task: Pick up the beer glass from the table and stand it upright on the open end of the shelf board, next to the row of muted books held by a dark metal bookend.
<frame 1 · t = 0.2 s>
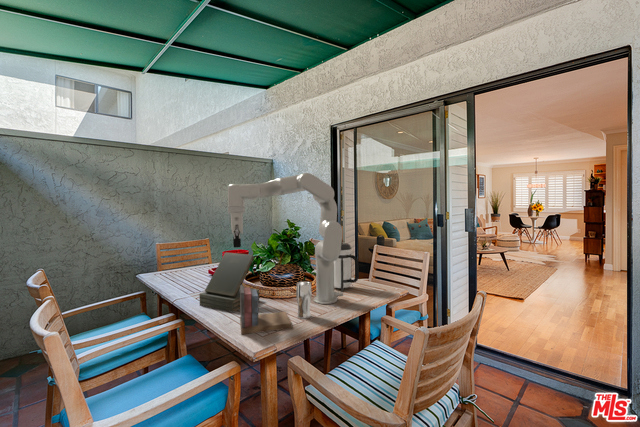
hand: (236, 245, 143), 31 cm above the table, tool pointing down, fingers open, 9 cm apart
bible: (230, 303, 154), on the table
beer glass: (304, 316, 135), on the table
shelf board: (265, 324, 126), on the table
coffee press: (343, 288, 179), on the table
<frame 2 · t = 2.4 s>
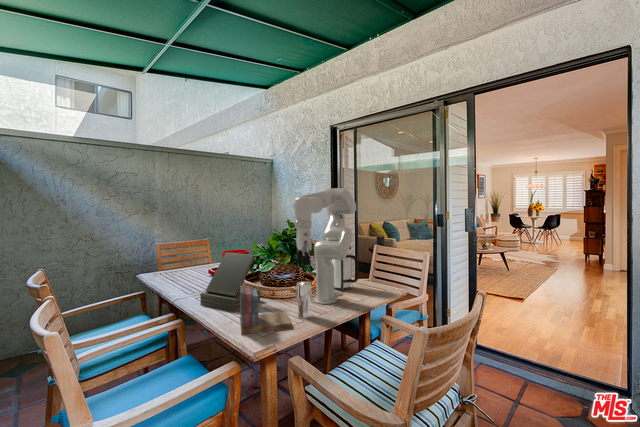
hand: (303, 262, 134), 24 cm above the table, tool pointing down, fingers open, 9 cm apart
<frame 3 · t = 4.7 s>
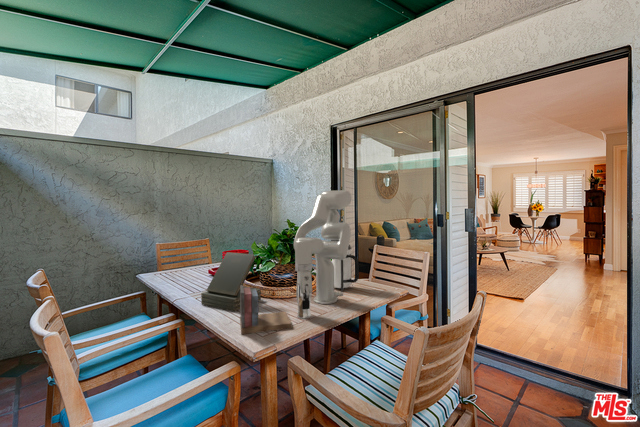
hand: (304, 306, 135), 5 cm above the table, tool pointing down, fingers closed on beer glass, 6 cm apart
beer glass: (304, 316, 135), on the table, touching gripper
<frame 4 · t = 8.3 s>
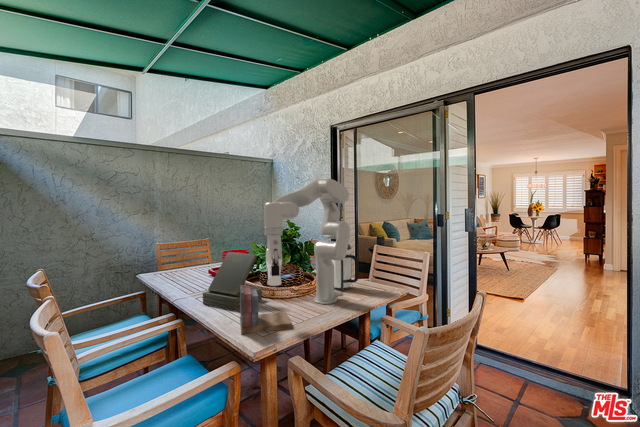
hand: (274, 273, 126), 21 cm above the table, tool pointing down, fingers closed on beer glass, 6 cm apart
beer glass: (274, 284, 127), point 17 cm above the table, touching gripper
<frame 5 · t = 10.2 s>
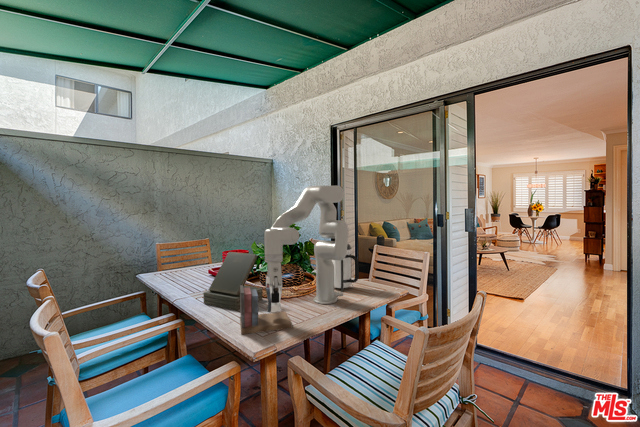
hand: (274, 299, 127), 10 cm above the table, tool pointing down, fingers closed on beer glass, 6 cm apart
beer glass: (274, 310, 127), point 5 cm above the table, touching gripper
when the fingers open (7 cm above the table, at t = 11.8 s): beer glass stays where it is, resting on shelf board.
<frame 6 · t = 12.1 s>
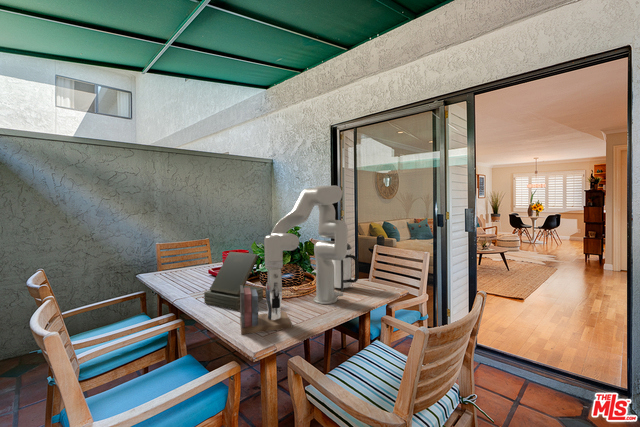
hand: (274, 304, 127), 8 cm above the table, tool pointing down, fingers open, 9 cm apart
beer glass: (274, 318, 127), point 2 cm above the table, touching shelf board
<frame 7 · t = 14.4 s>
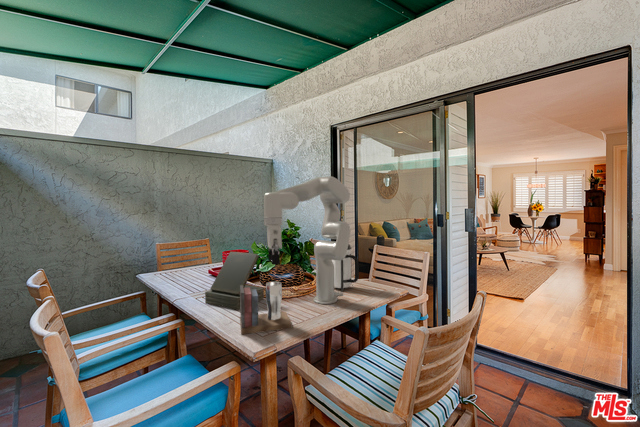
hand: (274, 261, 126), 26 cm above the table, tool pointing down, fingers open, 9 cm apart
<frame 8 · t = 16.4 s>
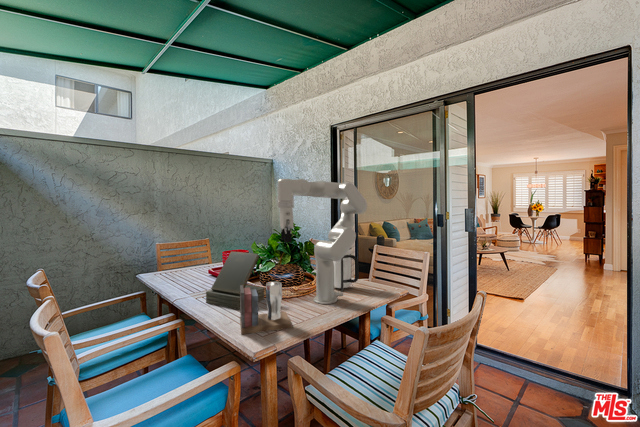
hand: (286, 241, 142), 33 cm above the table, tool pointing down, fingers open, 9 cm apart
at the end: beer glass 0.4 cm from the target spot, point 1.8 cm above the table; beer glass tilted 0°; the gripper is holding nothing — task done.
